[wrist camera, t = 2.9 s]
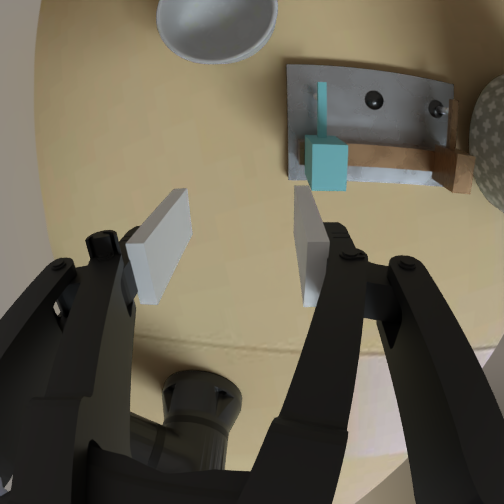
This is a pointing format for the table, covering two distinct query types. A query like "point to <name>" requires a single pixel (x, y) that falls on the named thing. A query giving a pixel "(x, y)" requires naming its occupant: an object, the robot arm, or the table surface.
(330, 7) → the table surface
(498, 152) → the planter
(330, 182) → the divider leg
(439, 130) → the gauge board
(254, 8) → the teacup
